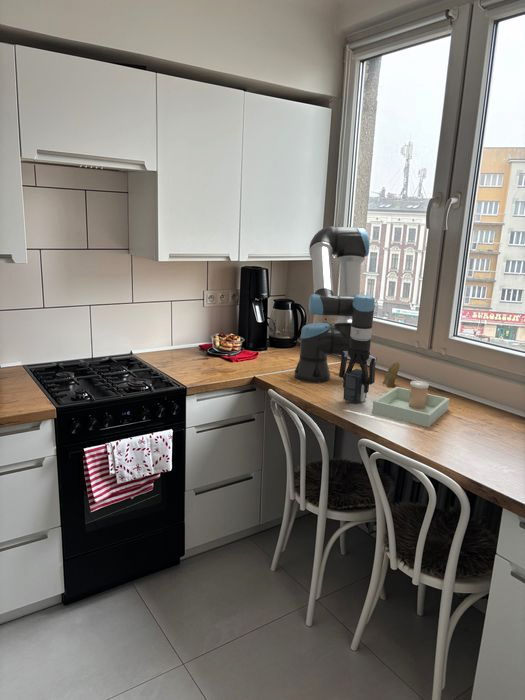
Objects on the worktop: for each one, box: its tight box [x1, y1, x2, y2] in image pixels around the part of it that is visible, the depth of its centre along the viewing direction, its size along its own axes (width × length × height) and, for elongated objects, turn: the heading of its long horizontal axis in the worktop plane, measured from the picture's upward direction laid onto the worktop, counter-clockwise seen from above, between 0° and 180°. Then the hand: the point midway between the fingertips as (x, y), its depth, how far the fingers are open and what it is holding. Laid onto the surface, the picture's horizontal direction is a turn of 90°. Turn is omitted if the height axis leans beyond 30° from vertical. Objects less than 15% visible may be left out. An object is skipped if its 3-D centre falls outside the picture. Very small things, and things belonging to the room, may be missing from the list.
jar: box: [409, 380, 430, 409], centre depth 195 cm, size 7×7×9 cm
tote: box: [371, 386, 450, 428], centre depth 190 cm, size 20×22×5 cm
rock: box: [382, 361, 401, 389], centre depth 221 cm, size 11×9×10 cm
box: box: [342, 368, 369, 404], centre depth 197 cm, size 8×6×11 cm
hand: (354, 398), depth 199 cm, fingers closed on box, 6 cm apart
